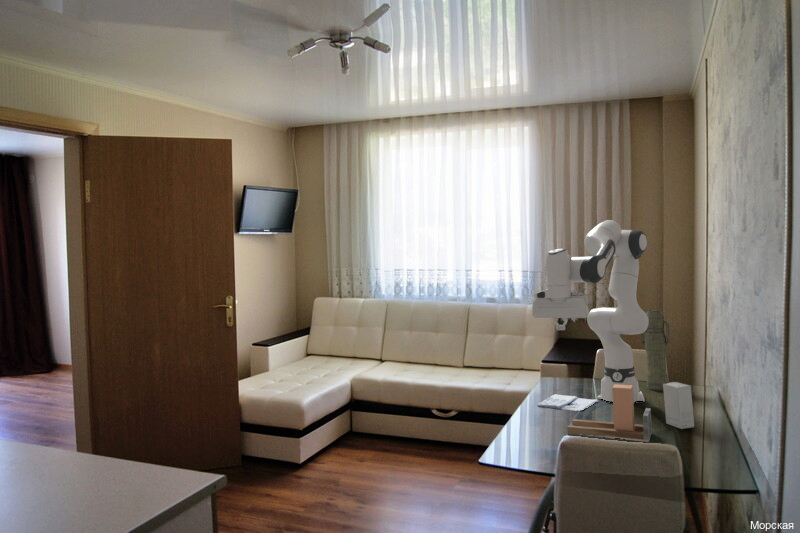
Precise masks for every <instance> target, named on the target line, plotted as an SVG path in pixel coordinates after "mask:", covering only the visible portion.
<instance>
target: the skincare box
mask: <svg viewBox="0 0 800 533" xmlns="http://www.w3.org/2000/svg"><path fill="white" fill-rule="evenodd" d="M662 392H663V398H664V399H663V400H664V401H663V402H664V411H665V412H664V413H665V424H667V425H669V426H672V427H674V428H678V429H680V430H683V429H691V428H692V429H693V428H695V416H694V407H693V397H692V396H693V395H692V385H690V384H686V383H681V382H678V381H672V382H668V383H666V384H663V391H662Z"/></svg>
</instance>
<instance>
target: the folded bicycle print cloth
mask: <svg viewBox="0 0 800 533" xmlns="http://www.w3.org/2000/svg"><path fill="white" fill-rule="evenodd" d="M597 401H599V402H600V399H594V398H593V399H589V398H581V397H578V396H576V395H563V394H556V393H555V394H553V395H551V396H549V397H547V398H545V399H544V400H542V401H541V402H539V403H537V404H536V406H537V407H542V408H551V409H557V410H562V411H563V410H564V411H572V412H573V411H574V412H580V410H584V409H585V408H588V407H589V406H591V405H592V406H594V405H595V404H594V403H595V402H597ZM568 404H569V405H568ZM593 404H594V405H593ZM592 406H591V407H592ZM589 408H590V407H589ZM589 408H588V409H589Z"/></svg>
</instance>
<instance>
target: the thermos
mask: <svg viewBox="0 0 800 533" xmlns="http://www.w3.org/2000/svg"><path fill="white" fill-rule="evenodd" d="M645 313H646V315H647V316H648V320H649V324H648V327H647V329H646V331H645V336H644V333H641V334H640V339H641V344H642V345H644V349H645V351H646V354H645V355H646V372H647V373H646V374H645V379H646V380H645V382H646V389H647V390H649V391H658V392H660V391H661V392H664V391H663V384H666V383H669V377H668V373H667V359H666V356H667V354H666V351H667V346H668V345H669V344H670V343H671V342H670V340H671V339H670V324H669V322H668V321H667V320H665V318H664V315H663V314H664V313H663V312H662V311H661V310H660V309H659V310H658V309H649V310H648V311H646V312H645ZM665 325H666V334H665V330H664V328H665Z"/></svg>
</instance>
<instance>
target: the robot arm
mask: <svg viewBox="0 0 800 533" xmlns="http://www.w3.org/2000/svg"><path fill="white" fill-rule="evenodd" d="M583 241H584V242H583V244H584V248H585V250H586V252H587V253H588V254H589V256H588V255H587V256H572V255H571V254H569V251H568V249H566V248H556V249H551V250H549V251H547V253H546V256H545V275H546V276H545V277H546V279H547V280H546V283H545V284H546V289H542V290H540V291H537V292H535V293H534V300H533V301H532V308H531V313H532V314H531V315H532V316H533V318H535V319H552V322H553V324H554V325H555V326H556V328H555V329H556V331H565V330H566V325H567V324H568V321H569V319H586V320H587V325H588V327H589V328H590V330H592V331H593V332H594V333H595V334H596V335H597V337H598V339H599V340H600V341H601V344H602V347H603V348H602V349H603V353H604V366H603V367H604V369H603V371H604V376H603V378H601V381H600V387H601V388H600V394H599V395H597V399H596V400H601V399H603V400H602V401H604V400H606V401H612V402H613V391H612V387H613V386H614V384H619V385H633V400H634V402H635V401H643V402H642V403H644V402H646V401H645V399H646V398H645V397H644V394H643V392H642V391H641V389H640V387H639V381H638V379H637V378H636V376H635V375H636V369H635V366H634V357H633V355H634V353H633V349H632V347H631V345H630V344H628V343H627V342H625V341H624V340H623V339H622V337H621V335H629V336H633V335H641V333H643V334H644V333H646V329H647V327H648V324H649V320H648V316H647V315H646V313H647V312H645V311H644V310H643V309H642V308H641V306H640V305H639V303H638V300H637V289H638V287H637V286H638V280H639V274H640V273H639V272H640V261H639V259H640V258H641V257H642V255H643V254H644V253H645V251H646V250H647V247H648V239H647V235H646V234H645V232H644V231H643V230H639V229H622V227H621V225H620V224H619V223H618V222H617V221H615V220H612V219H606V220H603V221H602V222H600V223H598V224H597V225H595V226H593V228H592V229H591V230H589V232H587V234H586V235H585V238H584V240H583ZM614 257H615V258H614ZM613 258H614V261H613V264H612V268H611V272H610V278H609V284H608V289H607V290H608V293H609V296H610V297H611V298H612V299H614V300H615V301H617V307H608V306H607V307H605V306H602V307H595V308H592V309H591V310H590V311H589V306H588V304H589V295H588V294H586V293H584V292H572V283H589V284H590V283H591V284H598V283H599V282H601V281H602V279H603V278H604V277H605V274H606V270H607V268H608V266H609V265H610V263H611V261H612V259H613ZM559 319H562V321H563V323H562V324H560V323H559V322H558V321H559ZM606 401H605V402H606Z"/></svg>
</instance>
